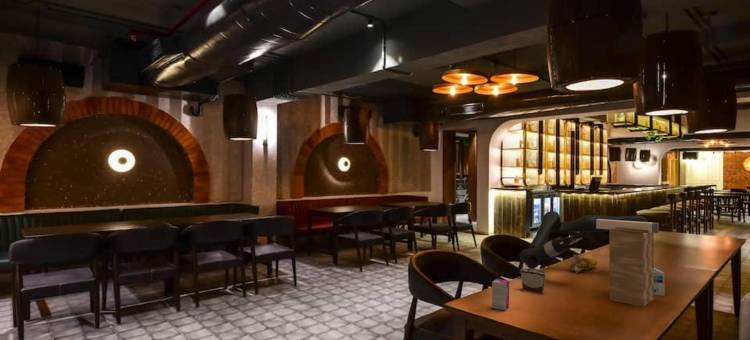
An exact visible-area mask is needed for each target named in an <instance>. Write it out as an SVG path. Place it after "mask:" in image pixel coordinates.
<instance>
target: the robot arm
mask: <svg viewBox="0 0 750 340" xmlns="http://www.w3.org/2000/svg"><path fill="white" fill-rule="evenodd" d="M597 219H605V220H620V221H636V222H649V221H648V219H647V218H646V217H644V216H643V215H638V214H637V215H635V214H634V215H628V216H627V215H625V216H624V215H623V216H612V215H599V214H597V215H595V214H594V215H593V214H587V215H584V216H581V217H579V218H577V219H574V220H571V221H561V216H560V214H559V213H558V212H557V211H555V210H550V211H549V210H548V211H547V212H546V213H544V215H543V217H542V219H541V223H540V226H539V228H538V229H537V232H536V234H535V236H534V237H533V238H532V241H531V243H530V244H529V246H528V248H526V249H523V250H522V251H521V252H520V253H519V258H520V260H521V261H522V262H523V263H524V264H525V266H526V267H527V268H531V269H537V268H538V267H539V265H540V263H541V260H542V261H545V260H548V259H550V258H552V257H555V256H558V255H560V254H562V253H565V252H567V251H568V250H569V246H571V245H574V243H577V242H579V241H580V240H583V239H584V238H586V237H588V236H589V235H590V233H605V232H606V233H607V232H610V229H597V228H596V220H597ZM568 232H569V233H571V232H572V233H573V232H576V233H575V234H573V235H568V236H566V237H563V236H557V237H555V238H553V239H551V240H548V239H549V236H550V233H551V234H552V233H554V234H555V233H556V234H557V233H568ZM580 232H581V233H580Z"/></svg>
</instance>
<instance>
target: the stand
mask: <svg viewBox="0 0 750 340" xmlns="http://www.w3.org/2000/svg"><path fill="white" fill-rule="evenodd" d="M608 232H609V241H608V243H609V300H610V301H614V302H618V303H625V304H628V305H633V306H637V307H638V306H639V307H645V306H646V305H647V304H649V303H651V302H653V301H654V300H655V295H654V268H655V263H654V262H655V249H654V248H655V242H654V241H655V238H654V237H655V233H649V230H641V229H629V228H618V227H615V229H610V231H608Z"/></svg>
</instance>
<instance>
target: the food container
mask: <svg viewBox="0 0 750 340" xmlns="http://www.w3.org/2000/svg"><path fill="white" fill-rule="evenodd" d="M519 274H520V277H521V286H522V291H523V292H529V293H533V294H537V295H538V294H539V295H543V294H544V289H545V280H546V278H547V273H546V271H545V270H543V269H538V268H535V269H531V268H528V267H527V268H520V270H519Z"/></svg>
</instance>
